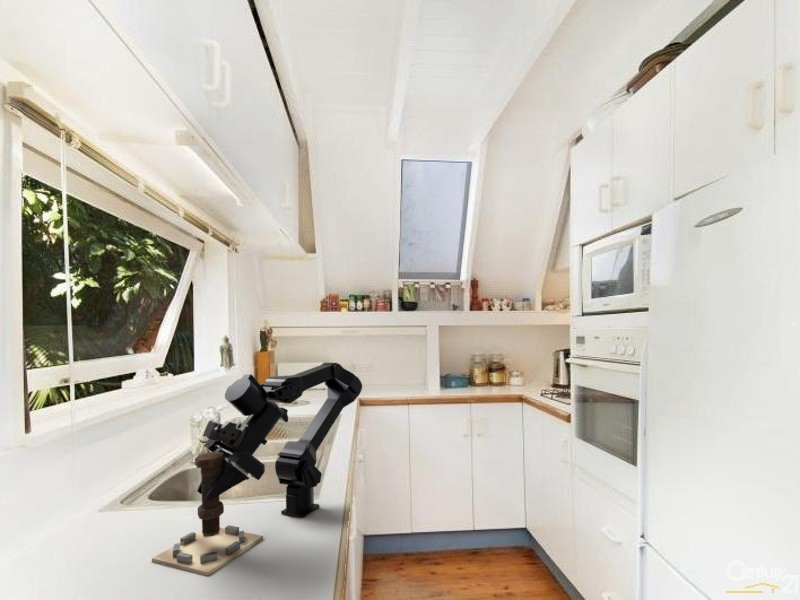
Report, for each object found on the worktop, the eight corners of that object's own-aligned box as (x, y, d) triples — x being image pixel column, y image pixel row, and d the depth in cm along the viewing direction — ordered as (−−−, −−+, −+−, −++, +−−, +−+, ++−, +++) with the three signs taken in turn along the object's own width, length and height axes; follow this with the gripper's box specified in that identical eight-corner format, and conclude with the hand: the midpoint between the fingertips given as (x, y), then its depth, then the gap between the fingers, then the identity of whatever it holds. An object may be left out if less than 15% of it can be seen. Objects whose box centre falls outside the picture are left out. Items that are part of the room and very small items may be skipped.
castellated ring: (211, 527, 92) (211, 521, 92) (258, 536, 87) (257, 530, 87) (157, 557, 80) (157, 550, 81) (208, 569, 76) (208, 562, 76)
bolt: (214, 524, 88) (213, 450, 89) (232, 529, 86) (231, 452, 86) (189, 538, 83) (188, 458, 83) (207, 543, 80) (206, 461, 81)
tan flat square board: (211, 528, 93) (211, 525, 93) (263, 538, 87) (263, 535, 88) (151, 561, 80) (151, 558, 80) (208, 575, 75) (208, 572, 75)
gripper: (213, 400, 95) (157, 463, 87) (247, 410, 81) (185, 486, 73) (248, 429, 100) (199, 491, 92) (287, 443, 86) (233, 518, 78)
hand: (203, 496), depth 84 cm, fingers closed on bolt, 5 cm apart
